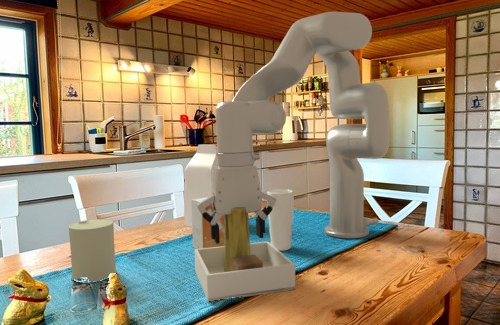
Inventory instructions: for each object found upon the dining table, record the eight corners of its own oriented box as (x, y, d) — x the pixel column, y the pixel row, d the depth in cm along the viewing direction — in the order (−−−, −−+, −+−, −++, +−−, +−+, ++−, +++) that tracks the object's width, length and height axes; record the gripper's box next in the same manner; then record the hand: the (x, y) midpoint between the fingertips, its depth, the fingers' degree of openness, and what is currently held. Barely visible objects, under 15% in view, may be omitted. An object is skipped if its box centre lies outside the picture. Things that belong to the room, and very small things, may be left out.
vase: (242, 278, 82) (240, 210, 81) (218, 273, 85) (215, 207, 84) (257, 268, 87) (255, 204, 86) (233, 264, 91) (231, 202, 89)
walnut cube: (255, 278, 82) (255, 254, 82) (263, 287, 77) (262, 262, 77) (232, 281, 81) (231, 257, 80) (238, 290, 76) (237, 265, 76)
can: (97, 265, 94) (94, 215, 92) (125, 272, 89) (122, 219, 88) (62, 278, 86) (58, 224, 85) (90, 287, 81) (87, 229, 80)
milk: (183, 225, 129) (180, 145, 126) (205, 218, 139) (203, 143, 136) (213, 230, 122) (211, 145, 120) (234, 222, 132) (232, 143, 130)
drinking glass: (297, 246, 105) (296, 189, 104) (288, 253, 99) (288, 194, 98) (273, 243, 108) (272, 188, 106) (263, 250, 102) (262, 192, 100)
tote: (268, 262, 93) (268, 241, 93) (295, 289, 78) (295, 264, 77) (195, 271, 88) (194, 249, 88) (207, 301, 73) (207, 275, 72)
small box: (203, 253, 101) (201, 202, 99) (192, 247, 106) (190, 199, 105) (230, 247, 105) (229, 198, 104) (219, 241, 110) (217, 195, 109)
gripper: (268, 156, 90) (270, 230, 92) (192, 161, 85) (196, 239, 87) (280, 159, 83) (282, 239, 85) (197, 164, 78) (201, 249, 80)
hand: (238, 239), depth 86 cm, fingers open, 9 cm apart
